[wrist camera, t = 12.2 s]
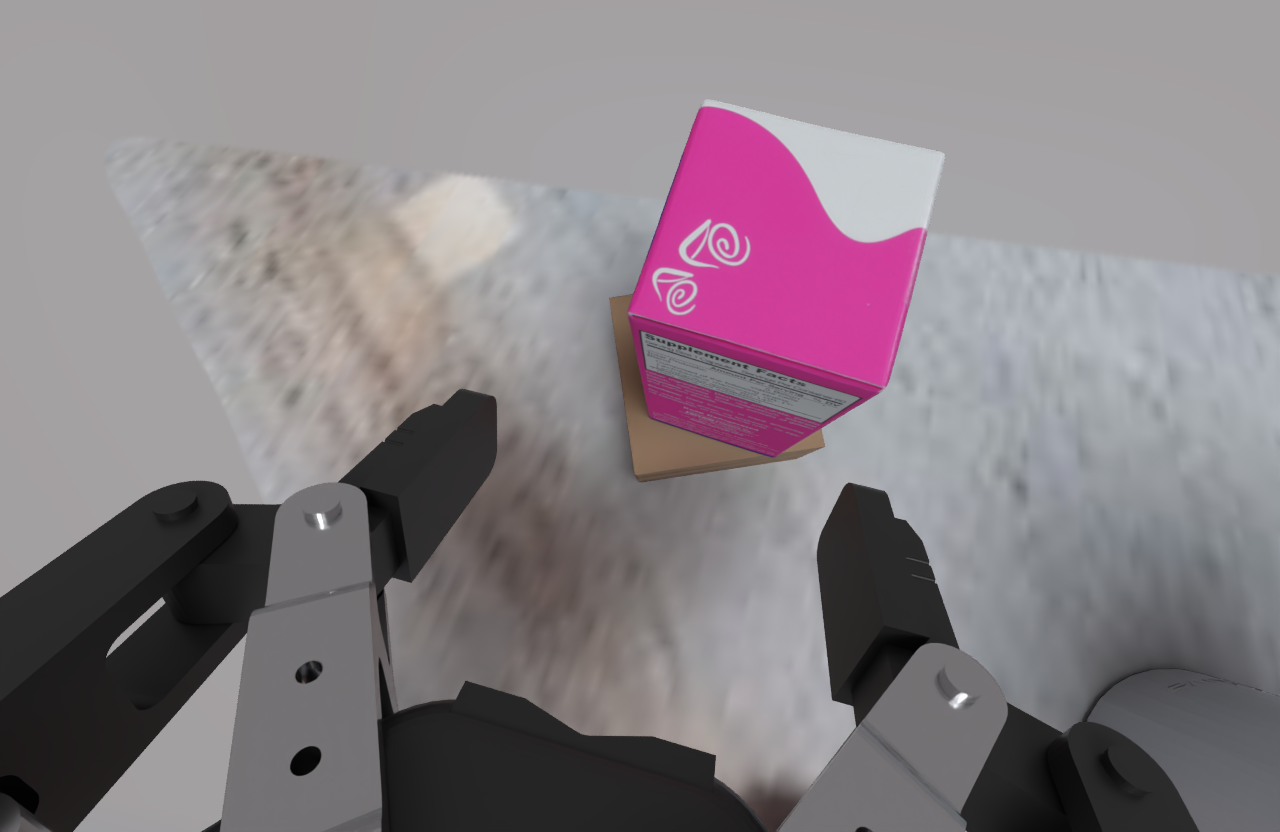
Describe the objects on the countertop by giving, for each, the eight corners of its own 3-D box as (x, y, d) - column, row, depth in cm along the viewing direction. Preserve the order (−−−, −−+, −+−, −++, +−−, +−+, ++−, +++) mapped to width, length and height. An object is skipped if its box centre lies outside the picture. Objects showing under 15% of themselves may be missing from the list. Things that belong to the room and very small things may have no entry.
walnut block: (794, 459, 26) (825, 446, 21) (640, 482, 26) (634, 475, 22) (764, 313, 28) (786, 270, 23) (618, 336, 28) (609, 297, 23)
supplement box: (682, 298, 23) (704, 83, 12) (812, 336, 22) (967, 149, 11) (640, 419, 22) (621, 311, 11) (776, 463, 21) (907, 397, 10)
